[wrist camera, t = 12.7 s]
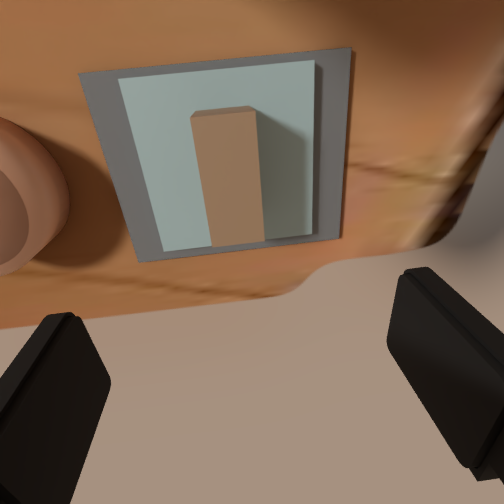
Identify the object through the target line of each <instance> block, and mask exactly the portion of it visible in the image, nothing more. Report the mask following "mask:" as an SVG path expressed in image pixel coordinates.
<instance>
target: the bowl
mask: <svg viewBox="0 0 504 504" xmlns="http://www.w3.org/2000/svg"><path fill="white" fill-rule="evenodd" d="M69 211H70V195H69V189H68V186H67V183H66V180H65V177H64V175H63V173H62V171H61V169H60V168H59V166H58V164H57V163H56V161H55V160H54V158H53V157H52V156H51V154H50V153H49V152H48V151H47V150H46V149H45V148H44V147H43V145H42V144H41V143H39V142H38V141H37V140H36V139H35V138H34V137H33V136H31V135H30V134H29V133H27V132H26V131H25V130H23V129H22V128H20V127H19V126H17V125H15V124H14V123H12V122H10V121H8V120H6V119H4V118H1V117H0V276H2V275H6V274H9V273H11V272H14V271H16V270H18V269H20V268H21V267H23V266H24V265H25V264H26V263H28V262H29V261H30V260H31V259H32V258H33V257H34V256H35V255H36V254H37V253H38V252H39V251H40V250H41V249H43V248H44V247H45V246H46V245H47V244H48V243H49V242H50V241H51V240H52V239H53V238H54V237H55V236H56V235H57V234H59V232H60V231H61V230H62V229H63V227H64V225H65V223H66V221H67V219H68V216H69Z"/></svg>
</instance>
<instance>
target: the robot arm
mask: <svg viewBox="0 0 504 504" xmlns="http://www.w3.org/2000/svg"><path fill="white" fill-rule="evenodd" d="M387 346H388V349H389V351H390V353H391V355H392V356H393V358H394V359H395V361H396V362H397V364H398V366H399V367H400V369H401V370H402V372H403V374H404V375H405V377H406V378H407V380H408V382H409V383H410V385H411V386H412V388H413V390H414V391H415V393H416V394H417V396H418V398H419V399H420V401H421V402H422V404H423V405H424V407H425V409H426V410H427V412H428V413H429V415H430V417H431V418H432V420H433V421H434V423H435V424H436V426H437V428H438V429H439V431H440V433H441V434H442V436H443V437H444V439H445V440H446V442H447V444H448V445H449V447H450V448H451V450H452V452H453V453H454V455H455V456H456V458H457V459H458V461H459V462H460V463H461V465H462V466H464V467H465V468H469V469H470V471H471V472H472V474H473V475H474V477H475V478H476V480H477V481H483V480H490V479H497V478H500V480H501V481H502V482H503V484H504V334H503V333H502V332H501V331H500V330H499V329H498V328H496V327H495V326H494V325H493V324H492V323H491V322H490V321H489V320H488V319H486V318H485V317H484V316H483V315H482V314H481V313H480V312H479V311H477V310H476V309H475V308H474V307H473V306H472V305H471V304H469V303H468V302H467V301H466V300H465V299H464V298H463V297H462V296H461V295H459V294H458V293H457V292H456V291H455V290H454V289H453V288H452V287H450V286H449V285H448V284H447V283H446V282H445V281H444V280H443V279H442V278H440V277H439V276H438V275H437V274H436V273H435V272H434V271H433V270H432V269H430V268H429V267H420V268H412V269H407V270H405V271H404V274H403V275H400V277H399V279H398V283H397V288H396V294H395V299H394V304H393V309H392V314H391V319H390V324H389V329H388V335H387ZM110 386H111V380H110V376H109V374H108V372H107V370H106V368H105V366H104V364H103V362H102V360H101V358H100V356H99V354H98V352H97V350H96V348H95V346H94V344H93V342H92V340H91V338H90V335H89V333H88V332H87V330H86V328H85V325H84V324H83V321H82V319H81V318H80V317H79V316H75V315H74V314H73V313H72V312H66V313H58V314H50V315H47V316H46V317H45V318H44V319H43V320H42V322H41V323H40V324H39V326H38V327H37V329H36V330H35V331H34V333H33V334H32V335H31V337H30V338H29V340H28V341H27V342H26V344H25V345H24V347H23V348H22V349H21V350H20V352H19V353H18V355H17V356H16V357H15V359H14V360H13V362H12V363H11V364H10V366H9V367H8V368H7V370H6V371H5V372H4V374H3V375H2V376H1V378H0V504H70V502H71V499H72V497H73V494H74V491H75V488H76V485H77V482H78V479H79V477H80V474H81V471H82V468H83V465H84V462H85V459H86V457H87V454H88V451H89V448H90V445H91V442H92V440H93V437H94V434H95V431H96V428H97V425H98V422H99V419H100V416H101V414H102V411H103V408H104V405H105V402H106V400H107V397H108V394H109V391H110Z"/></svg>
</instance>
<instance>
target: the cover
mask: <svg viewBox="0 0 504 504" xmlns="http://www.w3.org/2000/svg"><path fill="white" fill-rule="evenodd" d="M314 64H315V60H308V61H298V62H288V63H277V64H267V65H257V66H246V67H236V68H226V69H215V70H205V71H195V72H184V73H174V74H164V75H153V76H143V77H133V78H122V79H118V81H119V85H120V89H121V92H122V96H123V100H124V104H125V107H126V111H127V115H128V119H129V122H130V126H131V130H132V134H133V137H134V141H135V145H136V149H137V152H138V156H139V160H140V164H141V167H142V171H143V175H144V179H145V183H146V186H147V190H148V194H149V198H150V201H151V205H152V209H153V213H154V216H155V220H156V224H157V228H158V231H159V235H160V239H161V243H162V246H163V250H164V252H165V251H174V250H182V249H190V248H199V247H207V246H212V247H220V246H229V245H237V244H245V243H254V242H262V241H265V240H266V239H274V238H283V237H291V236H300V235H308V234H312V194H313V129H314Z"/></svg>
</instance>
